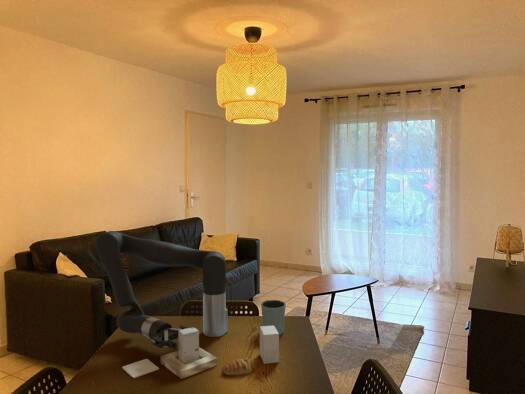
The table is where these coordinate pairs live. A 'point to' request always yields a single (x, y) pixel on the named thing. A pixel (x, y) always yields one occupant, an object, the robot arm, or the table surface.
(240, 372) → the pastry
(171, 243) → the robot arm
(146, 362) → the white pad
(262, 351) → the small box
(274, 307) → the grey green cup
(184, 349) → the skincare box
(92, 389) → the table surface
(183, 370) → the socket block
